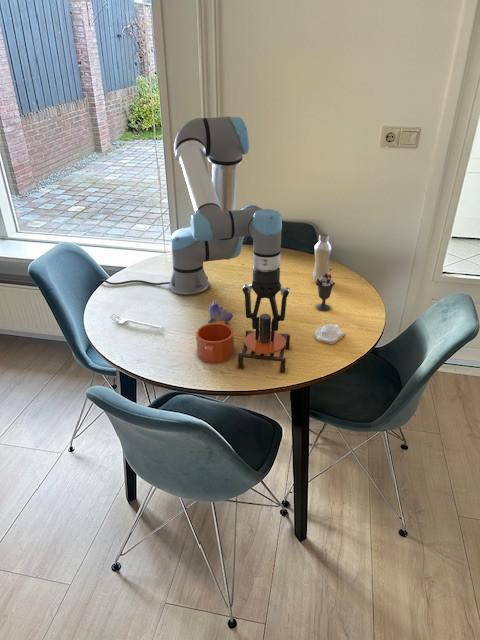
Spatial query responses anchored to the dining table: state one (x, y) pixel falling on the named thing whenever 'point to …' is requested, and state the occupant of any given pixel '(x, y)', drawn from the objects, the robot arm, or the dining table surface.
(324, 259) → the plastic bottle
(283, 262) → the dining table surface
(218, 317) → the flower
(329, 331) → the rose
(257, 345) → the lid
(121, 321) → the cooking utensil
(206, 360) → the pot
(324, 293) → the sundae
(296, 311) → the dining table surface
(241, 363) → the rack
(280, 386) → the dining table surface
